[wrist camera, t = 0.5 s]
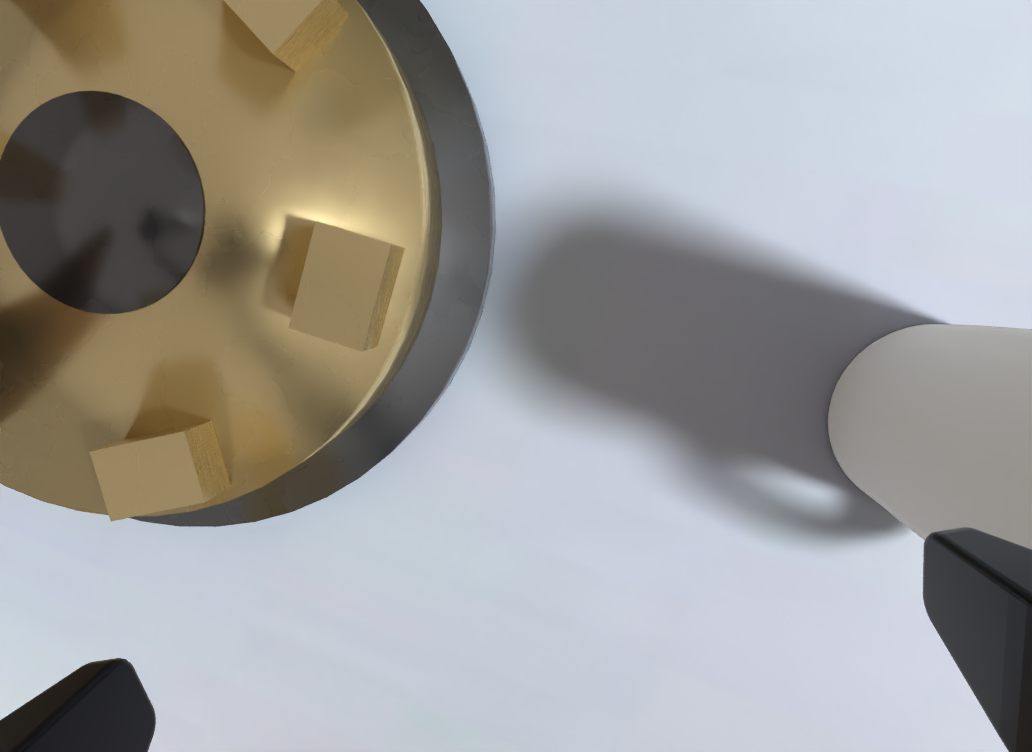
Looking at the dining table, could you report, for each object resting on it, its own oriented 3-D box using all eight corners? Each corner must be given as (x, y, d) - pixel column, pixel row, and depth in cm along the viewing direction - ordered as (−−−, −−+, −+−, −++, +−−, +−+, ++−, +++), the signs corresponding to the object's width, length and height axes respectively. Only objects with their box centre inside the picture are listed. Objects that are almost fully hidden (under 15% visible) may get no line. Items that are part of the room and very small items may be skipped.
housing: (485, 530, 23) (479, 547, 22) (-122, 488, 25) (-166, 501, 24) (507, -111, 20) (502, -142, 19) (-184, -109, 22) (-237, -138, 21)
